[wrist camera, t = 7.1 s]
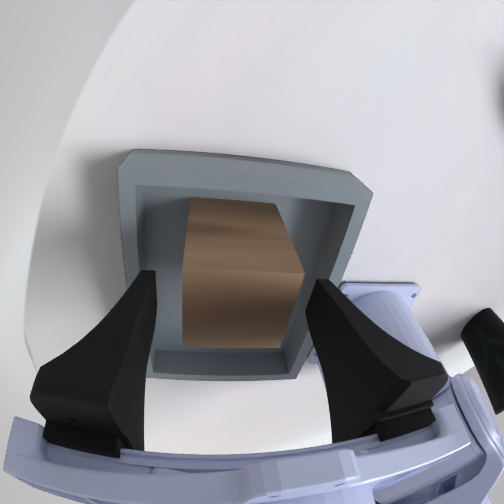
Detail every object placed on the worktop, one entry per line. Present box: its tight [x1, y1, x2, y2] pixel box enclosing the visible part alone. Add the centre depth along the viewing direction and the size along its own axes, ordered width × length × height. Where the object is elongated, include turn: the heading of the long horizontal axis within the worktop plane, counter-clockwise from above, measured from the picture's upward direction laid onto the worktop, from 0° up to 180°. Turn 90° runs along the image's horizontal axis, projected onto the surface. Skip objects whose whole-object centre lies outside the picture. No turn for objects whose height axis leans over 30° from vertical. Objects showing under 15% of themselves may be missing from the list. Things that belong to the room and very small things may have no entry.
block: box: [182, 197, 305, 348], centre depth 14 cm, size 4×4×6 cm
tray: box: [118, 149, 373, 381], centre depth 18 cm, size 16×12×3 cm
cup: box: [461, 308, 504, 415], centre depth 25 cm, size 8×8×12 cm
